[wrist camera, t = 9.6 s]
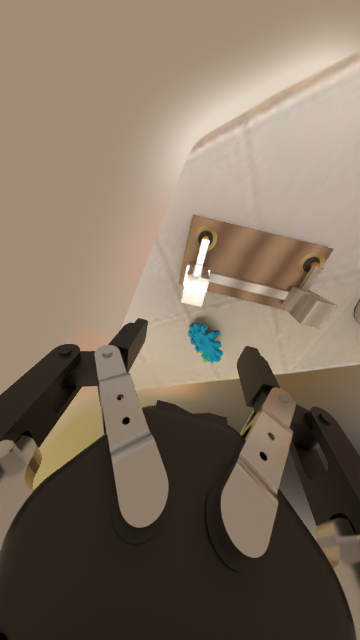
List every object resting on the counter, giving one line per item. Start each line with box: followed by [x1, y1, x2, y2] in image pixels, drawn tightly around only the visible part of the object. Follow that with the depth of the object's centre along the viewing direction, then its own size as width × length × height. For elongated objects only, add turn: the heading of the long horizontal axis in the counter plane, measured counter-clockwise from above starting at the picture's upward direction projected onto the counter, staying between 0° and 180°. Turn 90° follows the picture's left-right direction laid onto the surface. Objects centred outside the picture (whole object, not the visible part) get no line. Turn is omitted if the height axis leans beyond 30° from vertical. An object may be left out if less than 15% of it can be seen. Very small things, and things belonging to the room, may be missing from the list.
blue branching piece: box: [189, 323, 223, 363], centre depth 37 cm, size 11×6×10 cm
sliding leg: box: [181, 236, 211, 307], centre depth 24 cm, size 4×8×10 cm, turn 168°
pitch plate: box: [179, 215, 337, 329], centre depth 26 cm, size 24×12×10 cm, turn 78°
